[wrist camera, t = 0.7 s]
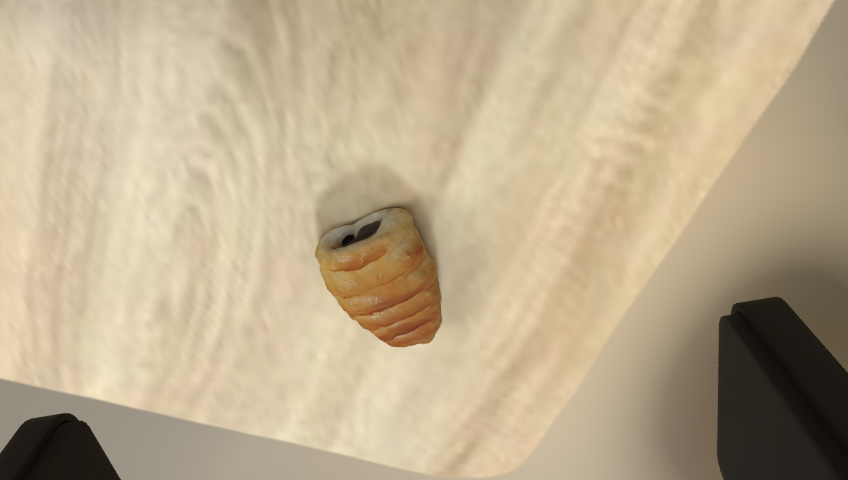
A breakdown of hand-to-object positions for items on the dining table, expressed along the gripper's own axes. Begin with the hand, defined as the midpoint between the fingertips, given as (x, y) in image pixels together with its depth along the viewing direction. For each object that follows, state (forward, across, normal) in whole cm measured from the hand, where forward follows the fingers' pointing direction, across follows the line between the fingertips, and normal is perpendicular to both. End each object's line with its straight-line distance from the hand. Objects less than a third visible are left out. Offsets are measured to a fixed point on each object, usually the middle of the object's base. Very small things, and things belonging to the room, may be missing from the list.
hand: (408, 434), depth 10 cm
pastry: (+29, +5, +13) cm, 32 cm away
